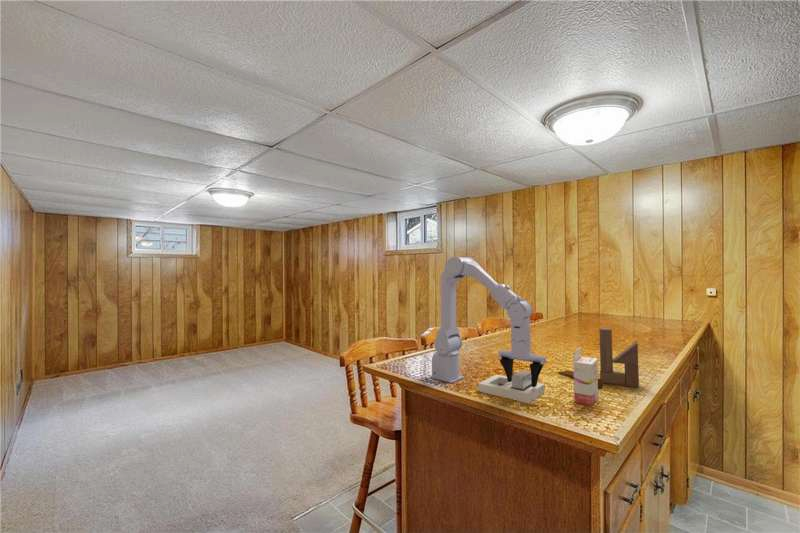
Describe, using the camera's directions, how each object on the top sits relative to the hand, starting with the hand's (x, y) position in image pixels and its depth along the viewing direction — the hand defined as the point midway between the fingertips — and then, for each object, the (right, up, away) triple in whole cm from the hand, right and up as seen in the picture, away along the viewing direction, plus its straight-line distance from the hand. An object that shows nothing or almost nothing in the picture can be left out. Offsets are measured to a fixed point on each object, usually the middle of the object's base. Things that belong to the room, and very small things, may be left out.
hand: (522, 383), depth 109 cm
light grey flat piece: (-3, -3, +2) cm, 5 cm away
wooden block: (+35, -3, +7) cm, 36 cm away
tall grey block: (0, -3, 0) cm, 3 cm away
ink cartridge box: (+17, -3, -6) cm, 18 cm away
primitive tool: (+24, -4, +13) cm, 27 cm away
